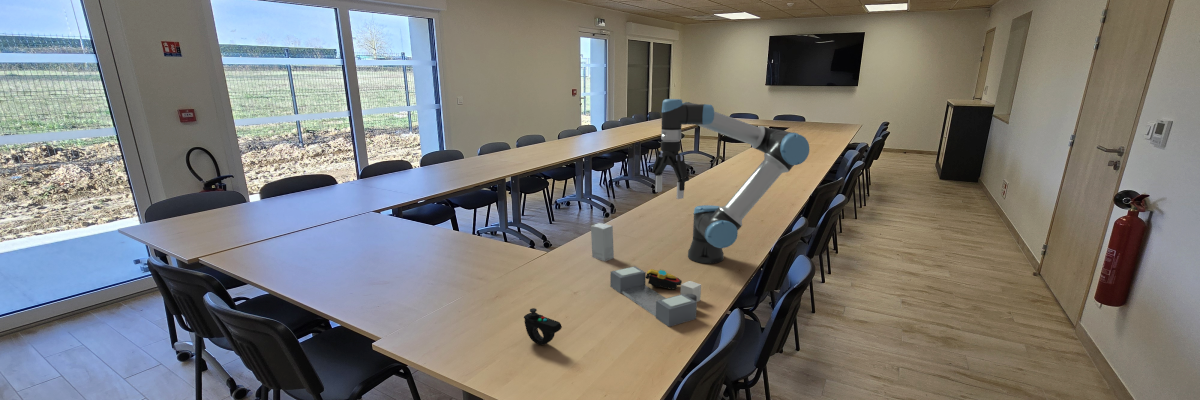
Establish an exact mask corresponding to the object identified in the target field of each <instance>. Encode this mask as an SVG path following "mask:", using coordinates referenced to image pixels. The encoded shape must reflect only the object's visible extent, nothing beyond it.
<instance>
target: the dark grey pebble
mask: <svg viewBox="0 0 1200 400" xmlns="http://www.w3.org/2000/svg"><path fill="white" fill-rule="evenodd" d="M686 296H687V297H689V298H691V299H693V300H694V301H696V302H697V296H696V295H694V294H686ZM697 303H698V302H697Z"/></svg>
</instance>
